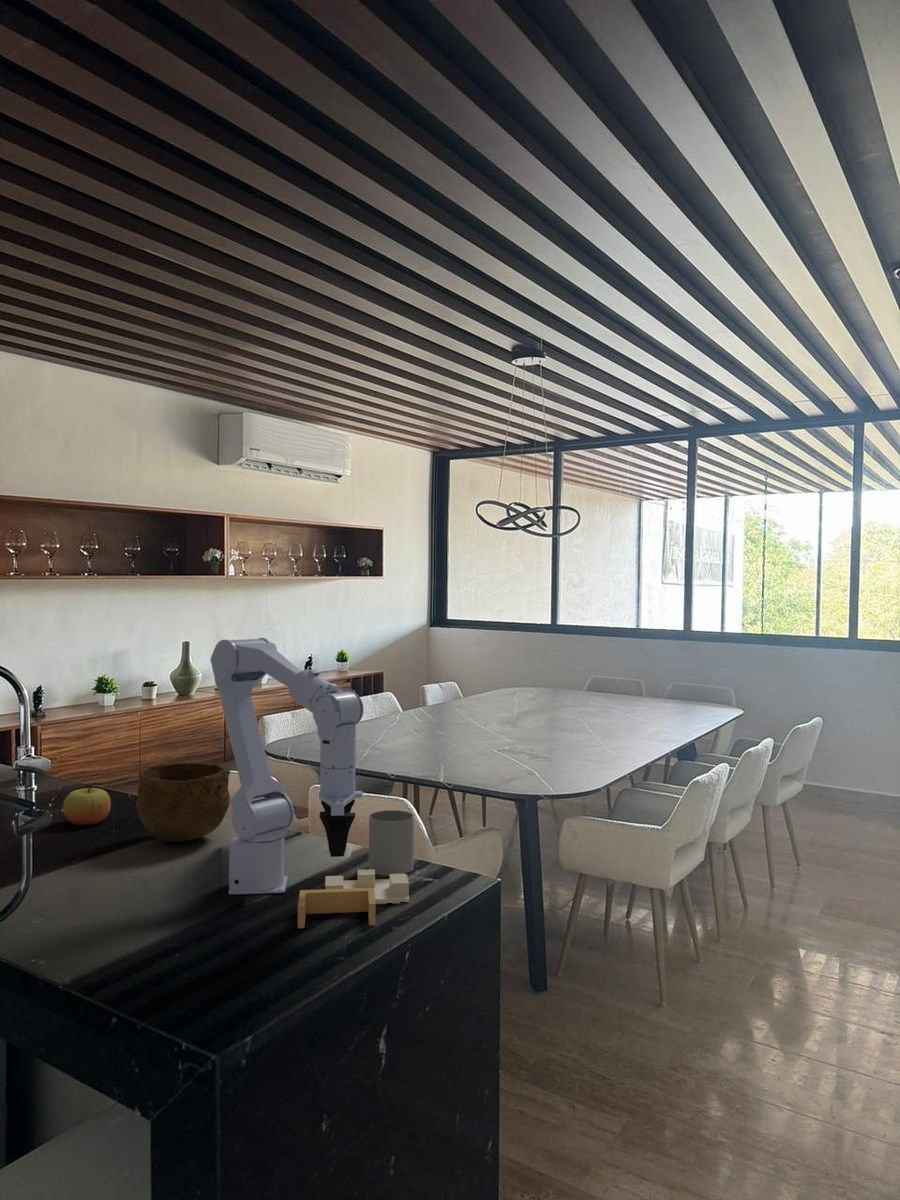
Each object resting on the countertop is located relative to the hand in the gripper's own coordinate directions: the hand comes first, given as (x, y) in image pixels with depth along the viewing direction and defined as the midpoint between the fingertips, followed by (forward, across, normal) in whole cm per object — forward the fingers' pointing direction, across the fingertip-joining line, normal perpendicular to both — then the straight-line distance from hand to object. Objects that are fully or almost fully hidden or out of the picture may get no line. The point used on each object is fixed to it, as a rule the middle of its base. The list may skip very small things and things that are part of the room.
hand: (337, 848), depth 141 cm
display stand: (+10, +7, -5) cm, 14 cm away
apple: (+10, +60, +56) cm, 83 cm away
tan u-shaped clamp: (+10, -3, 0) cm, 11 cm away
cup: (+10, +21, -10) cm, 25 cm away
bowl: (+10, +44, +32) cm, 55 cm away
